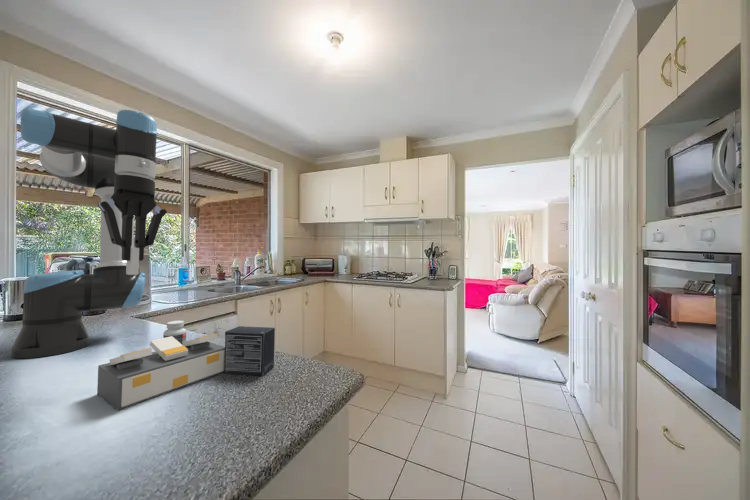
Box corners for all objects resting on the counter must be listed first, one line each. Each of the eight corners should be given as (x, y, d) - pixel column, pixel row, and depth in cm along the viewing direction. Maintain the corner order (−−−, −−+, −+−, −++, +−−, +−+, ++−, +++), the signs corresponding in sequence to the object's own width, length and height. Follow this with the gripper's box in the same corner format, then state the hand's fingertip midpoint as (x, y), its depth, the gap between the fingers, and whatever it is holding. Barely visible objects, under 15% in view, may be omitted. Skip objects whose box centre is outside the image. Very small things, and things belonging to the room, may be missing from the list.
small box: (275, 365, 74) (276, 326, 75) (263, 376, 68) (264, 333, 68) (238, 363, 76) (239, 324, 76) (222, 373, 69) (223, 331, 69)
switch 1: (109, 365, 58) (109, 358, 58) (136, 358, 62) (135, 352, 62) (124, 361, 54) (124, 354, 55) (151, 354, 58) (151, 348, 58)
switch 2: (149, 345, 64) (150, 340, 64) (171, 340, 68) (172, 335, 68) (165, 361, 60) (166, 355, 60) (187, 354, 64) (188, 349, 64)
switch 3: (183, 346, 70) (182, 341, 70) (201, 341, 74) (201, 336, 74) (200, 343, 66) (199, 337, 67) (218, 338, 70) (217, 333, 70)
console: (97, 394, 58) (98, 361, 58) (202, 362, 76) (203, 337, 76) (118, 411, 52) (119, 374, 52) (226, 371, 70) (227, 344, 70)
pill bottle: (187, 356, 80) (188, 322, 80) (164, 361, 76) (165, 325, 76) (183, 351, 84) (184, 319, 84) (161, 355, 80) (162, 321, 80)
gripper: (105, 168, 60) (101, 276, 60) (173, 182, 72) (170, 273, 71) (93, 172, 64) (89, 274, 64) (159, 185, 75) (156, 272, 75)
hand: (132, 274), depth 67 cm, fingers closed
